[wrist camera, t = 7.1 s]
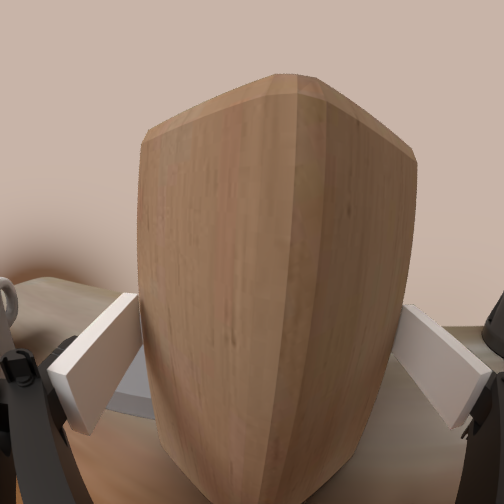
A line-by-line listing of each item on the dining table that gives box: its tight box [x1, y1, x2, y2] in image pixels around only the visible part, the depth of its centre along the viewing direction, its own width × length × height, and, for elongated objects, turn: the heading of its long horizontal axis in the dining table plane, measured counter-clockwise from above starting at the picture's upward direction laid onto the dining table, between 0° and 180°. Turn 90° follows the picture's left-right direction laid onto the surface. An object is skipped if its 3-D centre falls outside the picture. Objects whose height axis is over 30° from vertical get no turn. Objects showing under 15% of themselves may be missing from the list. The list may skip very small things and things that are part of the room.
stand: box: [105, 315, 155, 419], centre depth 25 cm, size 14×14×2 cm
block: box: [137, 74, 417, 504], centre depth 14 cm, size 10×10×20 cm
